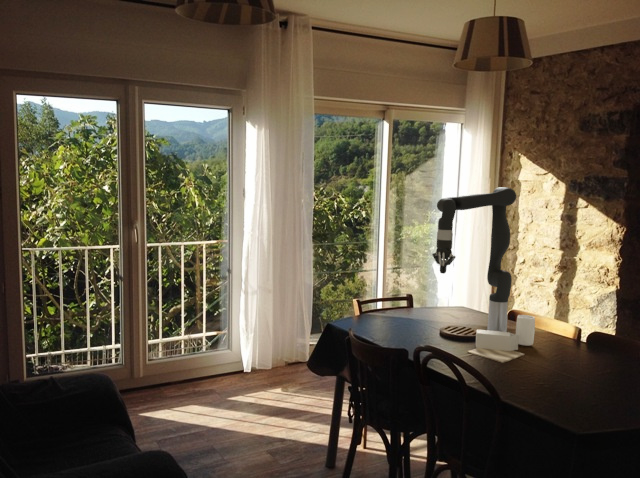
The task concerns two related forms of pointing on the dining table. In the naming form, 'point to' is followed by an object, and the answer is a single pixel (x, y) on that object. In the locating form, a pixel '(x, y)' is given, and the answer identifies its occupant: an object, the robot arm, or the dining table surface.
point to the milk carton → (496, 340)
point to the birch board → (496, 354)
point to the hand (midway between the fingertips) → (442, 273)
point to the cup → (525, 329)
